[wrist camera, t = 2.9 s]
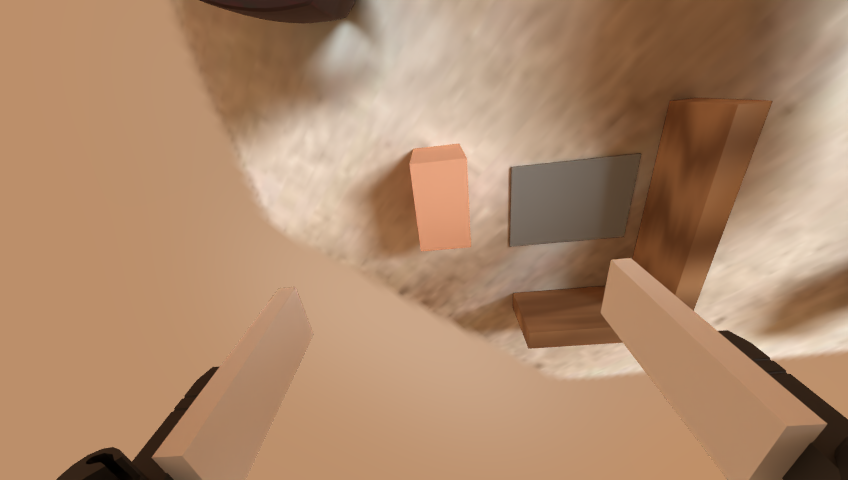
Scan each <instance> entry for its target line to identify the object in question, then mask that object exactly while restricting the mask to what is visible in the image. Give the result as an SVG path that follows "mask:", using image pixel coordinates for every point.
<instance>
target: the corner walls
mask: <svg viewBox="0 0 848 480" xmlns="http://www.w3.org/2000/svg"><path fill="white" fill-rule="evenodd" d="M771 104H772V101H766V100H740V99H714V98H690V99H682V100H673V101H670V102H669V107H668V111H667V115H666V119H665V124H664V128H663V132H662V136H661V141H660V145H659V149H658V153H657V158H656V162H655V166H654V170H653V174H652V179H651V183H650V187H649V191H648V196H647V200H646V204H645V208H644V213H643V217H642V221H641V225H640V229H639V234H638V238H637V242H636V246H635V251H634V255H633V260H634V261H635V262H636V263H637V264H638V265H640V266H641V267H642V268H643V269H644V270H646V271H647V272H648V273H649V274H650V275H651V276H653V277H654V278H655V279H656V280H657V281H659V282H660V283H661V284H662V285H663V286H665V287H666V288H667V289H668V290H669V291H670V292H672V293H673V294H674V295H675V296H676V297H678V298H679V299H680V300H681V301H682V302H683V303H685V304H686V305H687V306H688V307H689V308H691V309H692V310H693V311H694V308H695V305H696V303H697V300H698V297H699V295H700V292H701V289H702V287H703V284H704V281H705V279H706V276H707V273H708V271H709V268H710V266H711V263H712V260H713V258H714V255H715V252H716V250H717V247H718V244H719V242H720V239H721V236H722V234H723V231H724V228H725V226H726V223H727V220H728V218H729V215H730V212H731V210H732V207H733V205H734V202H735V199H736V197H737V194H738V191H739V189H740V186H741V183H742V181H743V178H744V175H745V173H746V170H747V167H748V165H749V162H750V159H751V157H752V154H753V152H754V149H755V146H756V144H757V141H758V138H759V136H760V133H761V130H762V128H763V125H764V122H765V120H766V117H767V114H768V112H769V109H770V106H771ZM605 288H606V286H598V287H586V288H573V289H560V290H547V291H534V292H521V293H513V309H514V311H515V314H516V317H517V319H518V322H519V325H520V327H521V330H522V333H523V335H524V338H525V341H526V343H527V346H528V349H529V348H545V347H560V346H576V345H591V344H606V343H622V341H621V339H620V338H619V337H618V335H617V334H616V333H615V331H614V330H613V329H612V327H611V326H610V325H609V323H608V322H607V321H606V320H605V318H604V317H603V316H602V314H601V308H602V303H603V298H604V293H605Z"/></svg>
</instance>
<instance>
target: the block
mask: <svg viewBox="0 0 848 480" xmlns="http://www.w3.org/2000/svg"><path fill="white" fill-rule="evenodd" d="M409 166H410V173H411V181H412V188H413V196H414V203H415V211H416V218H417V226H418V233H419V241H420V248H421V251H431V250H442V249H453V248H464V247H471V238H470V217H469V195H468V174H467V158H466V156H465V154H464V152H463V150H462V148H461V146H460V144H452V145H443V146H434V147H425V148H416V149H413V152H412V156H411V160H410V164H409Z"/></svg>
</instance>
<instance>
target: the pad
mask: <svg viewBox="0 0 848 480" xmlns="http://www.w3.org/2000/svg"><path fill="white" fill-rule="evenodd" d="M640 158H641V154H630V155H621V156H611V157H602V158H592V159H583V160H573V161H564V162H554V163H545V164H535V165H526V166H516V167H511V210H510V247H512V246H523V245H534V244H546V243H557V242H569V241H580V240H591V239H603V238H614V237H624V233H625V228H626V223H627V219H628V214H629V209H630V205H631V200H632V195H633V191H634V186H635V181H636V176H637V172H638V167H639V162H640Z"/></svg>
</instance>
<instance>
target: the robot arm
mask: <svg viewBox="0 0 848 480" xmlns="http://www.w3.org/2000/svg"><path fill="white" fill-rule="evenodd" d="M601 314H602V316H603V317H604V318H605V320H606V321H607V322H608V323H609V325H610V326H611V327H612V329H613V330H614V331H615V333H616V334H617V335H618V337H619V338H620V339H621V341H622V342H623V343H624V344H625V346H626V347H627V348H628V350H629V351H630V352H631V354H632V355H633V356H634V358H635V359H636V360H637V362H638V363H639V364H640V365H641V367H642V368H643V369H644V371H645V372H646V373H647V375H648V376H649V377H650V378H651V380H652V381H653V382H654V384H655V385H656V387H657V388H658V389H659V390H660V392H661V393H662V394H663V396H664V397H665V398H666V400H667V401H668V402H669V404H670V405H671V406H672V408H673V409H674V410H675V411H676V413H677V414H678V415H679V417H680V418H681V419H682V421H683V422H684V423H685V425H686V426H687V427H688V429H689V430H690V431H691V432H692V434H693V435H694V436H695V438H696V439H697V440H698V441H699V443H700V444H701V446H702V447H703V448H704V450H705V451H706V452H707V453H708V455H709V456H710V457H711V459H712V460H713V461H714V463H715V464H716V465H717V466H718V468H719V469H720V471H721V472H722V473H723V474H724V476H725V477H726V478H727V480H848V419H847V418H845V417H844V416H843V415H841V414H840V413H839V412H838V411H836V410H835V409H834V408H833V407H831V406H830V405H829V404H827V403H826V402H825V401H824V400H823V399H821V398H820V397H819V396H817V395H816V394H815V393H813V392H812V391H811V390H810V389H809V388H807V387H806V386H805V385H804V384H802V383H801V382H800V381H798V380H797V379H796V378H795V377H793V376H792V375H791V374H787V373H786V370H785V369H783V368H782V367H781V366H780V365H778V364H777V363H776V362H774V361H771V360H770V357H768V356H767V355H766V354H764V353H763V352H762V351H761V350H759V349H758V348H757V347H756V346H754V345H753V344H752V343H750V342H749V341H747V340H745V339H743V338H741V337H739V336H737V335H735V334H733V333H732V332H730V331H728V330H727V331H717V330H715V329H714V328H713V327H712V326H711V325H710V324H708V323H707V322H706V321H705V320H704V319H702V318H701V317H700V316H699V315H698V314H697V313H695V312H694V311H693V310H692V309H691V308H689V307H688V306H687V305H686V304H685V303H683V302H682V301H681V300H680V299H679V298H678V297H676V296H675V295H674V294H673V293H672V292H670V291H669V290H668V289H667V288H666V287H665V286H663V285H662V284H661V283H660V282H659V281H657V280H656V279H655V278H654V277H653V276H651V275H650V274H649V273H648V272H647V271H646V270H644V269H643V268H642V267H641V266H640V265H638V264H637V263H636V262H635V261H634V260H633V259H631V258H625V259H613V260H611V262H610V267H609V272H608V277H607V282H606V288H605V293H604V298H603V303H602V308H601ZM312 337H313V332H312V329H311V327H310V324H309V321H308V318H307V316H306V313H305V311H304V308H303V305H302V302H301V300H300V297H299V294H298V292H297V289H296V287H289V288H279V289H278V290H277V291H276V293H275V294H274V295H273V297H272V298H271V299H270V301H269V302H268V303H267V305H266V306H265V307H264V309H263V310H262V311H261V313H260V314H259V315H258V317H257V318H256V319H255V321H254V322H253V323H252V325H251V326H250V327H249V329H248V330H247V331H246V333H245V334H244V335H243V336H242V338H241V339H240V341H239V342H238V343H237V345H236V346H235V347H234V348H233V350H232V351H231V352H230V354H229V355H228V356H227V358H226V359H225V361H224V362H223V363H222V365H221V366H220V367H212V368H211V369H210V370H209V371H207V372H206V373H205V374H204V375H203V376H201V377H200V378H199V379H198V380H197V381H196V382H195V383H194V384H193V386H192V387H191V389H189V391H188V392H187V393H186V395H185V398H184V399H182V400H181V401H180V402H179V403H178V405H177V406H176V407H175V408H174V409H175V410H174V412H171V413H170V415H169V416H168V417H167V418H166V420H165V421H164V422H163V424H162V425H161V426H160V427H159V428H158V430H157V431H156V432H155V434H154V435H153V436H152V437H151V439H150V440H149V441H148V442H147V444H146V445H145V446H144V448H143V449H142V450H141V451H140V452H139V454H138V455H137V456H136V457H135V459H134V460H133V461H132V462H131V461H130V460H129V459H128V458H127V457H126V456H125V455H124V454H123V453H122V452H121V451H120V450H119V449H116V448H114V447H112V448H105V449H101V450H99V451H96V452H94V453H92V454H90V455H87V456H86V457H84V458H83V459H81V460H80V461H78V462H77V463H75V464H74V465H72V466H71V467H70V468H69V469H68V470H66V471H65V472H64V473H63V474H62V475H61V476H60V477H58V478H57V480H245V479H246V478H247V475H248V473H249V471H250V469H251V467H252V465H253V463H254V461H255V458H256V456H257V454H258V452H259V450H260V448H261V446H262V443H263V441H264V439H265V437H266V435H267V433H268V431H269V429H270V426H271V424H272V422H273V420H274V418H275V416H276V414H277V412H278V409H279V407H280V405H281V403H282V401H283V399H284V397H285V394H286V392H287V390H288V388H289V386H290V384H291V381H292V380H293V377H294V375H295V373H296V371H297V369H298V367H299V365H300V362H301V360H302V358H303V356H304V354H305V352H306V350H307V348H308V345H309V343H310V341H311V339H312Z"/></svg>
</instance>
